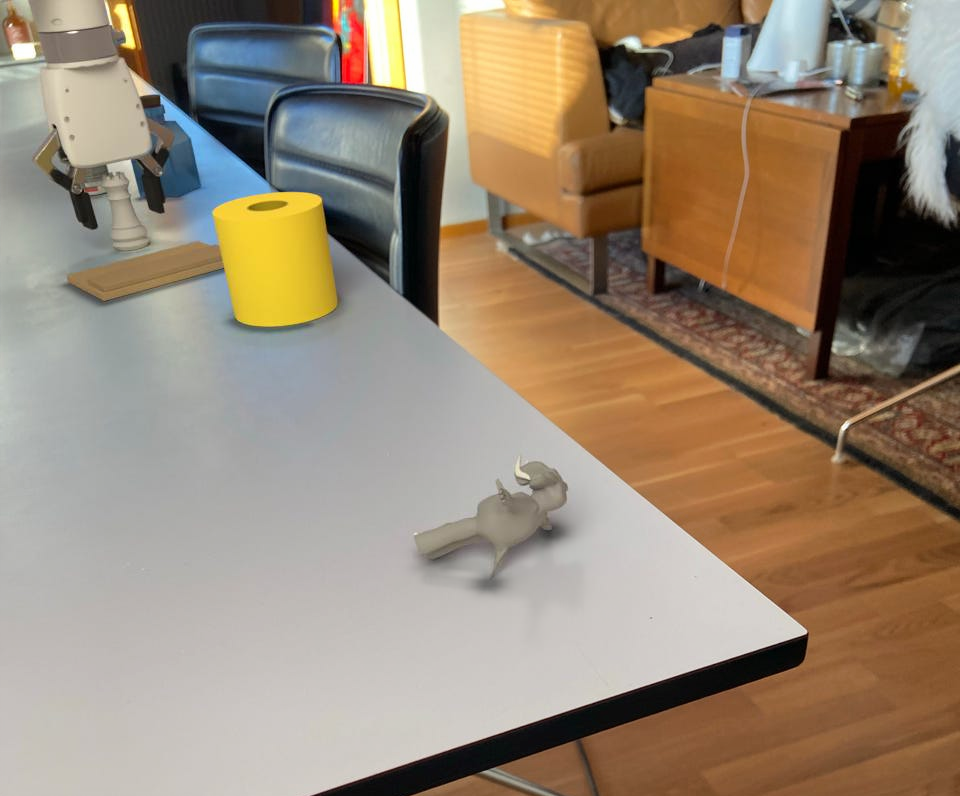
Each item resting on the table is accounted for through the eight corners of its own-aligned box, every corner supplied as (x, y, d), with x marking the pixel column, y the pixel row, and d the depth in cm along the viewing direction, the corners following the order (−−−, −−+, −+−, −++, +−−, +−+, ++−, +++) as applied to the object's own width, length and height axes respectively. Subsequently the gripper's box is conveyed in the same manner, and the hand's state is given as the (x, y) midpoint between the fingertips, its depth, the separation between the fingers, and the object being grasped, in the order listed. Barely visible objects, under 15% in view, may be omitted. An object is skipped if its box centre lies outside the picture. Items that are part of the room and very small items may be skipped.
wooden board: (104, 301, 105) (100, 287, 104) (68, 282, 111) (64, 269, 110) (241, 263, 112) (238, 250, 111) (200, 247, 119) (197, 235, 118)
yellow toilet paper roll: (234, 332, 94) (211, 226, 88) (234, 299, 102) (213, 200, 96) (342, 317, 95) (325, 212, 90) (333, 286, 103) (318, 187, 98)
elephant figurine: (439, 515, 64) (573, 465, 61) (464, 605, 63) (602, 558, 61) (372, 484, 55) (527, 423, 52) (401, 589, 54) (560, 532, 51)
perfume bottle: (177, 196, 141) (154, 100, 134) (140, 196, 143) (115, 101, 136) (201, 185, 145) (180, 91, 138) (164, 185, 147) (142, 92, 140)
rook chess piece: (149, 238, 124) (130, 167, 119) (153, 247, 120) (134, 174, 116) (111, 244, 123) (91, 173, 118) (114, 253, 119) (94, 180, 114)
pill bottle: (120, 188, 148) (103, 125, 143) (96, 196, 145) (78, 132, 140) (96, 187, 150) (78, 124, 145) (72, 195, 146) (54, 131, 141)
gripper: (140, 36, 116) (178, 199, 126) (-13, 58, 107) (41, 231, 118) (168, 38, 111) (205, 208, 121) (10, 62, 103) (64, 242, 113)
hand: (124, 218), depth 120 cm, fingers open, 7 cm apart
